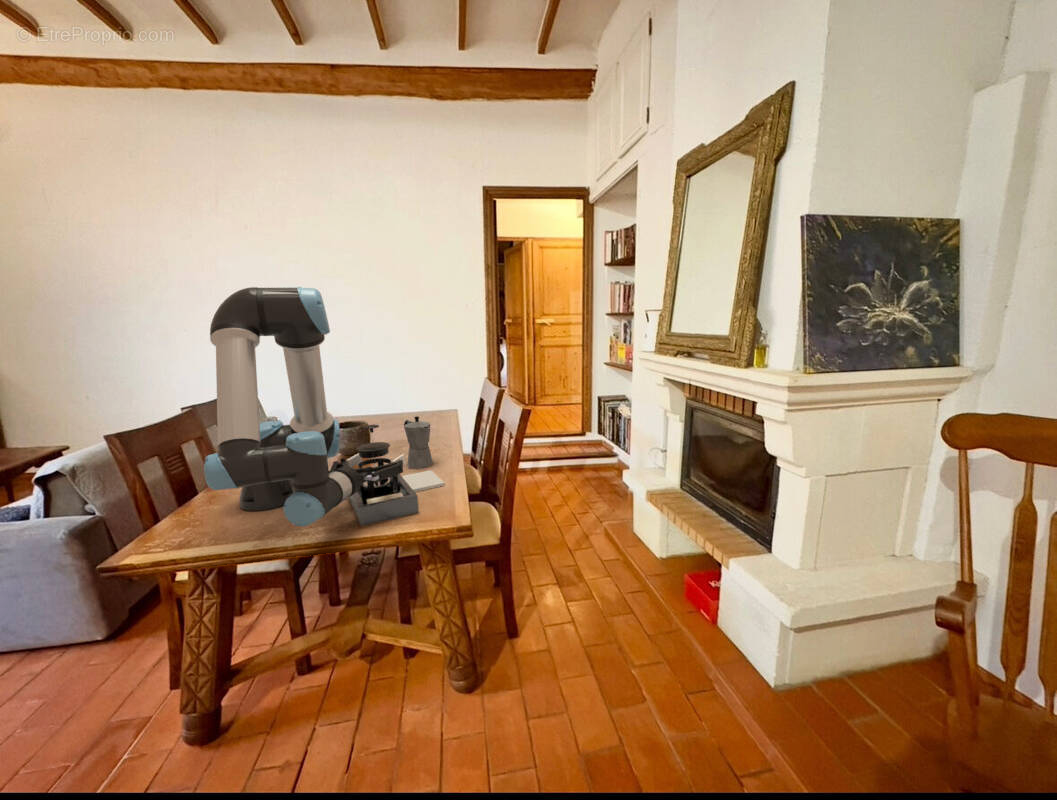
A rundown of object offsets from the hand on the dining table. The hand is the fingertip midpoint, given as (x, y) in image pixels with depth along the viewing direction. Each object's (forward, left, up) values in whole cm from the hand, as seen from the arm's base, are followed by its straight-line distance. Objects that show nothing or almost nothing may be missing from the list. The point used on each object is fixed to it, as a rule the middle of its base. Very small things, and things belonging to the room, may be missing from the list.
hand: (382, 458), depth 128 cm
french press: (-2, -2, -13) cm, 13 cm away
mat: (+13, +7, -13) cm, 19 cm away
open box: (-2, -4, -12) cm, 13 cm away
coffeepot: (+17, +26, -13) cm, 33 cm away
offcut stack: (-2, -12, -13) cm, 17 cm away
